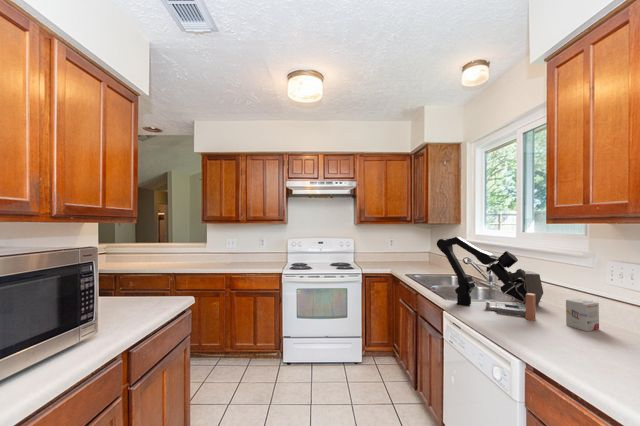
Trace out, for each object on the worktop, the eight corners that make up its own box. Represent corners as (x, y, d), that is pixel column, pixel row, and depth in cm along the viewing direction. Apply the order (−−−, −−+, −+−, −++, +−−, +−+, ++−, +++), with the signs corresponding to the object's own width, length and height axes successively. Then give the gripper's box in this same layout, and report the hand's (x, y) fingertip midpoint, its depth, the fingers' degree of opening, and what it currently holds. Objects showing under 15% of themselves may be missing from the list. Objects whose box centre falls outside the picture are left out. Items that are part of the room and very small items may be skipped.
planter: (509, 288, 192) (518, 263, 181) (523, 289, 191) (532, 264, 180) (520, 310, 178) (531, 284, 167) (535, 311, 177) (546, 285, 166)
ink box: (578, 323, 144) (578, 297, 144) (599, 329, 136) (599, 302, 136) (565, 325, 142) (565, 299, 142) (586, 331, 134) (585, 304, 134)
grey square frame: (496, 312, 159) (496, 307, 159) (495, 306, 171) (495, 301, 171) (529, 317, 152) (529, 312, 152) (526, 309, 165) (526, 305, 165)
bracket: (485, 309, 164) (485, 301, 164) (485, 308, 166) (485, 300, 166) (496, 310, 162) (496, 303, 162) (496, 309, 164) (496, 302, 164)
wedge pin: (525, 319, 149) (525, 294, 149) (528, 317, 152) (528, 292, 152) (532, 320, 147) (533, 295, 147) (535, 319, 150) (535, 294, 150)
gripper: (507, 265, 149) (534, 292, 140) (520, 262, 161) (546, 287, 153) (490, 279, 155) (515, 306, 146) (504, 275, 167) (527, 299, 158)
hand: (526, 299), depth 151 cm, fingers open, 9 cm apart
